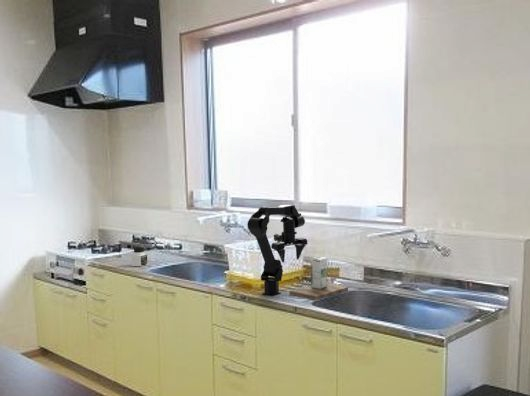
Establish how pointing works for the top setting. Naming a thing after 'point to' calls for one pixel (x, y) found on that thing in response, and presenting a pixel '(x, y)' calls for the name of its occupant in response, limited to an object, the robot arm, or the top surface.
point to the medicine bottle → (139, 257)
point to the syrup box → (319, 272)
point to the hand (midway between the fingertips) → (290, 260)
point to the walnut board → (318, 291)
